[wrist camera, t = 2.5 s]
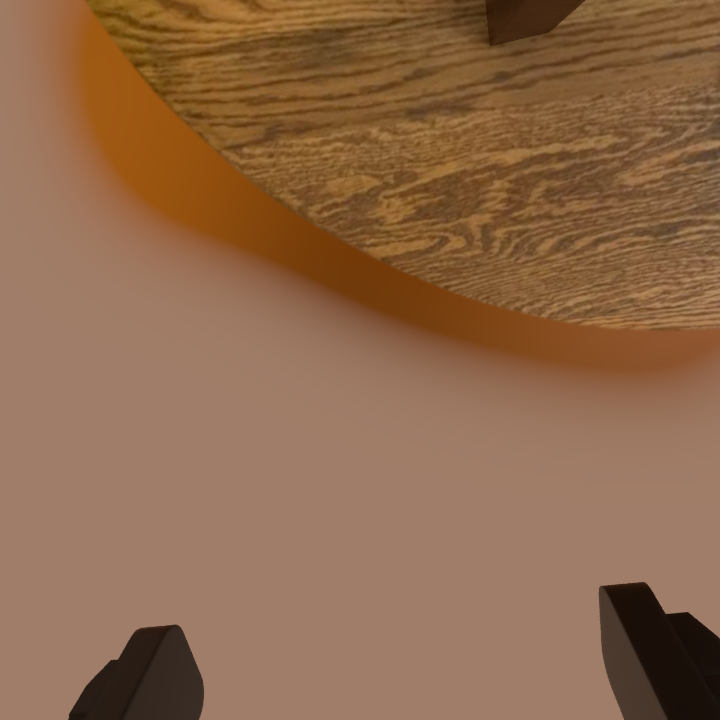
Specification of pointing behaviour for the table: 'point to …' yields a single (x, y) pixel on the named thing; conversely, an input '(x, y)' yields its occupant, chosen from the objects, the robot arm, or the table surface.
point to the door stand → (525, 17)
